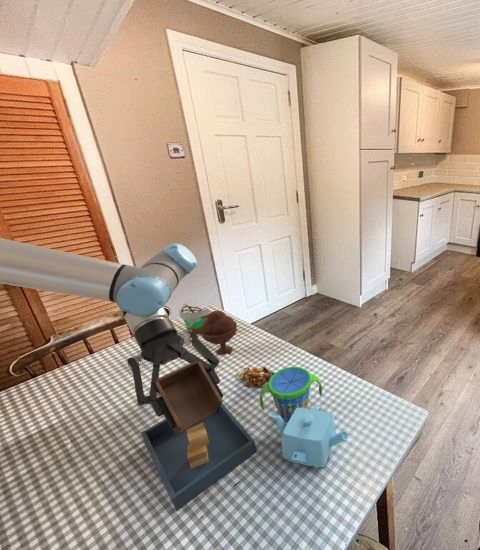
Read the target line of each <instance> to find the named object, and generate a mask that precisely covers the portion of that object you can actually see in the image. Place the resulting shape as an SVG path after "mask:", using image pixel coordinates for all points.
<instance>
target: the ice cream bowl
mask: <svg viewBox="0 0 480 550" xmlns="http://www.w3.org/2000/svg"><path fill="white" fill-rule="evenodd" d="M237 330H238V325H237V321H235V320H234V318H232V317H231V316H228V315H227V314H226V313H225V312H224V311H222V310H213V311H211V312H210V314H209V315H208V317H207V323H206V324H205V325H204V326H203V329H201V334H200V336H201V337H202V339H203V340H204V341H206V342H207V343H211V344H212V345H219V346H220V347H219V348H218V349H216V351H215V354H216V355H218V356H224V355H231V354H232V353H233V352H234V349H233V347H232V346H230V345H227V344H226V343H228V342H229V341H231V339H233V338H234V336H236V334H237V332H238V331H237Z"/></svg>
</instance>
